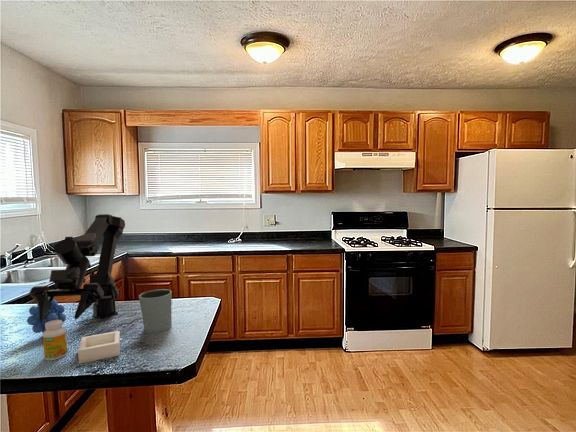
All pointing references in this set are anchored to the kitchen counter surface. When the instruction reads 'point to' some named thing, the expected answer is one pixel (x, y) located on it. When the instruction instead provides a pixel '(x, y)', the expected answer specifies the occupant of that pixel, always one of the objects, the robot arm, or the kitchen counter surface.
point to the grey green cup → (156, 310)
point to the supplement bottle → (54, 340)
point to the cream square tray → (99, 346)
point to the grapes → (52, 314)
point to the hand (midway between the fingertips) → (58, 319)
